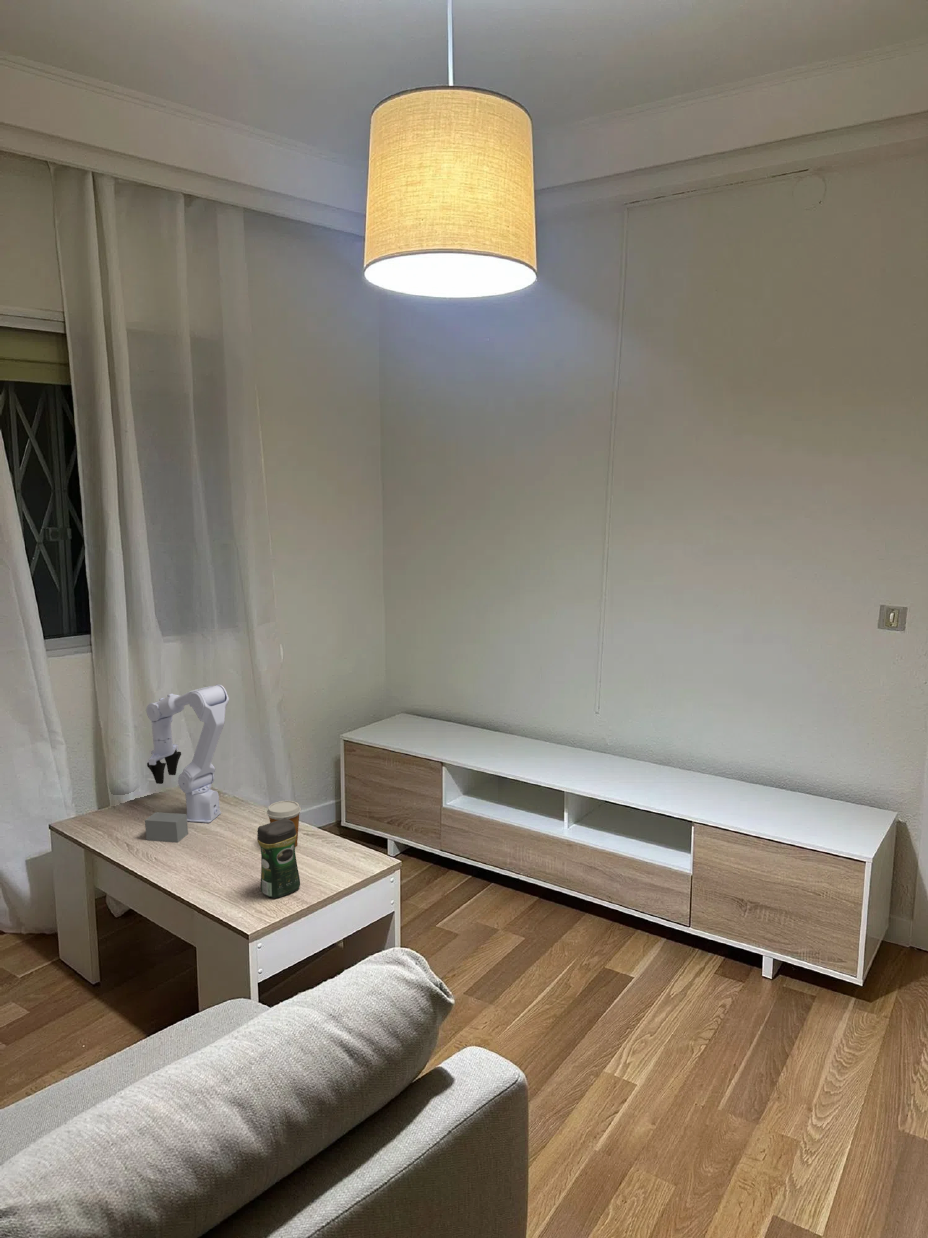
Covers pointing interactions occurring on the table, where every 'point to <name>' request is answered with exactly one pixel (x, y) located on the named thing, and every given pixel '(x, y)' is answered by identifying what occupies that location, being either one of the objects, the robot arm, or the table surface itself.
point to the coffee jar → (278, 858)
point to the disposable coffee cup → (285, 813)
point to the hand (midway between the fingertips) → (166, 779)
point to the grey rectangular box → (166, 827)
